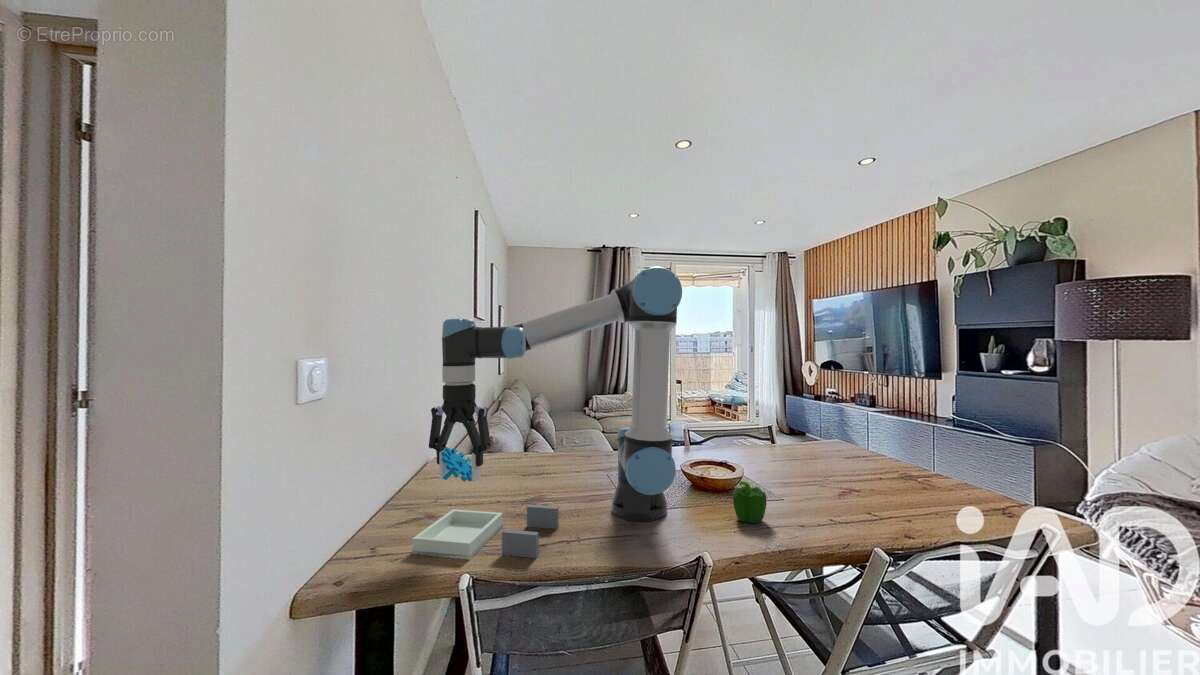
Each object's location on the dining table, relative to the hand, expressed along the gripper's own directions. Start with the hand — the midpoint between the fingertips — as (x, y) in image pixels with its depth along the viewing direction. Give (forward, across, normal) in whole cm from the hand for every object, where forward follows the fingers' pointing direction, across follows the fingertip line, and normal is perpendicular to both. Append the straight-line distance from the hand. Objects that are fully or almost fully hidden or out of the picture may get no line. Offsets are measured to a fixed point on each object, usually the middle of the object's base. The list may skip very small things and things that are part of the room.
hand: (460, 478), depth 105 cm
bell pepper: (+15, -69, -24) cm, 75 cm away
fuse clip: (+15, -17, -3) cm, 23 cm away
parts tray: (+15, 0, 0) cm, 15 cm away
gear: (0, 0, 0) cm, 0 cm away
